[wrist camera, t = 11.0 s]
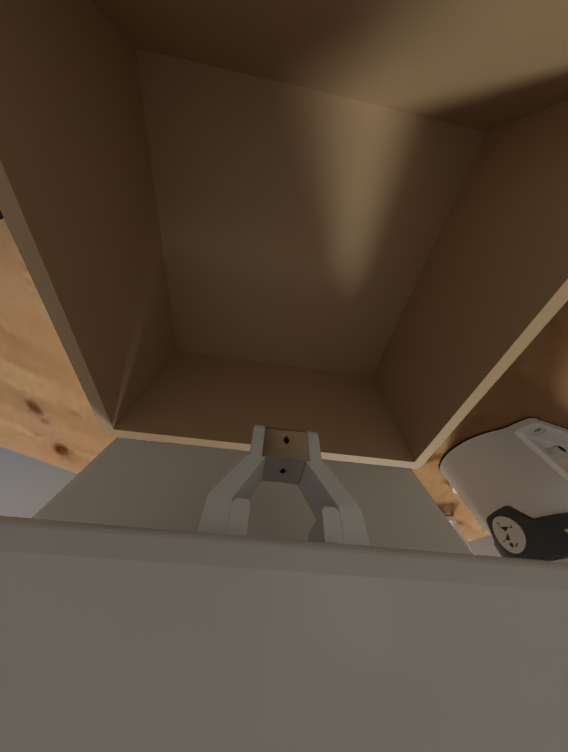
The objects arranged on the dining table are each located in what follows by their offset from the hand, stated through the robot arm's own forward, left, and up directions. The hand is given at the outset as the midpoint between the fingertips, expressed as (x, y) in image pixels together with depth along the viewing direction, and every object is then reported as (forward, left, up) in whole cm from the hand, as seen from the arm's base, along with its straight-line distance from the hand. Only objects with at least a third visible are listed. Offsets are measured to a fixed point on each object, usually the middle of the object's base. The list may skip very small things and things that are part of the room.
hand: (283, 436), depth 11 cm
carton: (0, -5, -16) cm, 16 cm away
